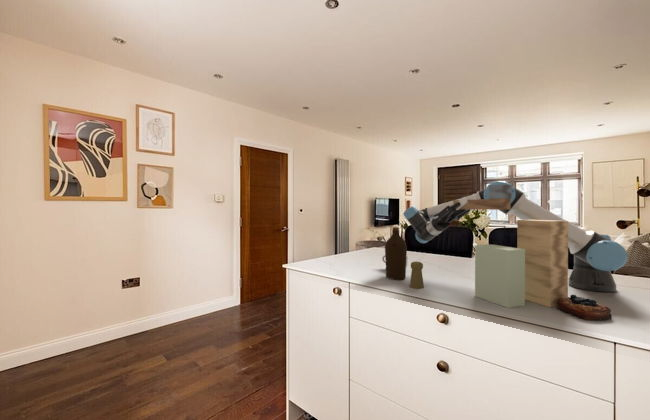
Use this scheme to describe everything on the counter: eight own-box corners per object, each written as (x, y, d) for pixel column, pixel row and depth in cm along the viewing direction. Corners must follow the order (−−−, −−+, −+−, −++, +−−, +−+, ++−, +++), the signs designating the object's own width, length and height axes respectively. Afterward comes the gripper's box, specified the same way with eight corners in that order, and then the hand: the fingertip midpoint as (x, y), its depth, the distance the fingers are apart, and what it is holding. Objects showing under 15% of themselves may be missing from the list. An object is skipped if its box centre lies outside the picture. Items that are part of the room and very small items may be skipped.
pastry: (580, 307, 99) (580, 291, 99) (619, 321, 87) (619, 302, 87) (551, 308, 98) (551, 291, 98) (586, 322, 86) (587, 303, 86)
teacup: (410, 268, 160) (410, 254, 160) (404, 272, 151) (404, 257, 151) (386, 266, 168) (386, 252, 168) (379, 269, 159) (379, 255, 158)
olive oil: (410, 279, 136) (410, 228, 135) (389, 280, 134) (389, 228, 134) (401, 274, 146) (401, 226, 146) (381, 275, 144) (381, 226, 144)
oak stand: (533, 294, 112) (534, 219, 112) (567, 304, 101) (568, 220, 101) (517, 296, 110) (517, 219, 109) (549, 307, 98) (550, 221, 98)
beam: (461, 209, 126) (461, 189, 126) (511, 209, 103) (511, 184, 103) (452, 209, 124) (452, 189, 124) (500, 209, 101) (500, 184, 101)
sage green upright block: (490, 293, 113) (491, 244, 113) (524, 305, 100) (525, 249, 100) (475, 295, 111) (475, 245, 111) (507, 307, 98) (508, 250, 98)
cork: (424, 289, 120) (425, 263, 120) (410, 288, 122) (410, 262, 122) (423, 285, 126) (423, 260, 126) (408, 284, 128) (409, 260, 127)
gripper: (455, 231, 138) (490, 207, 118) (425, 232, 133) (457, 207, 113) (449, 217, 141) (483, 192, 122) (420, 218, 136) (450, 191, 117)
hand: (470, 199), depth 118 cm, fingers closed on beam, 4 cm apart
